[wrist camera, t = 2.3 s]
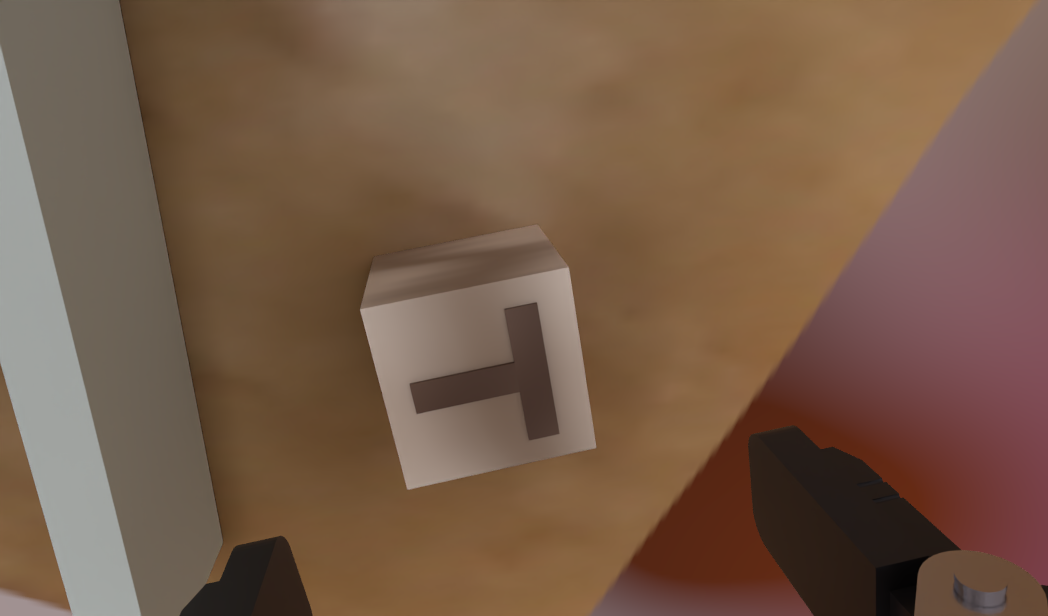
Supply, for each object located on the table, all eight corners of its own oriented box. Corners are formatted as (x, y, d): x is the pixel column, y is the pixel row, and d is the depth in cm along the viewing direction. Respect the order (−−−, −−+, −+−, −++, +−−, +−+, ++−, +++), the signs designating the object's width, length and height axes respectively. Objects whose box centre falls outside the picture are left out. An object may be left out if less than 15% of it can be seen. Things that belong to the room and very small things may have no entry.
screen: (175, 547, 23) (97, 700, 18) (41, -65, 17) (-140, -126, 12) (223, 542, 24) (160, 692, 18) (106, -65, 18) (-42, -126, 12)
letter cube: (410, 403, 23) (407, 491, 18) (373, 255, 21) (359, 311, 16) (561, 371, 23) (597, 449, 18) (536, 223, 22) (569, 268, 17)
